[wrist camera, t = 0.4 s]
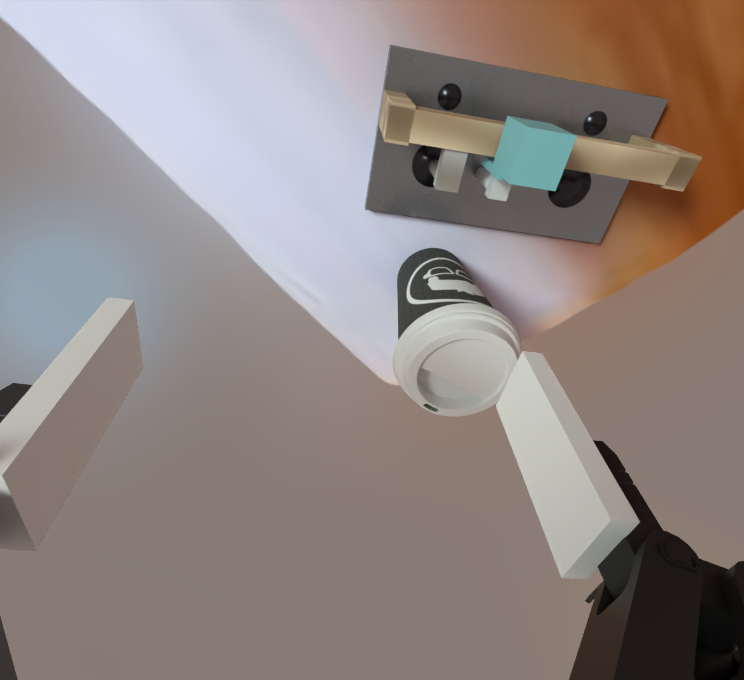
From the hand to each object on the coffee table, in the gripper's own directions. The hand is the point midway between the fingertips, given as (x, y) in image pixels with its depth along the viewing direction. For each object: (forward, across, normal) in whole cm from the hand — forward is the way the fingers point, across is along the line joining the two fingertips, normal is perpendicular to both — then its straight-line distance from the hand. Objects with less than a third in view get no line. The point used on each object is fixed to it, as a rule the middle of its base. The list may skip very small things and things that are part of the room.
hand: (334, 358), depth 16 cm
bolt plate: (+27, +13, +3) cm, 30 cm away
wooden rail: (+26, +13, +3) cm, 29 cm away
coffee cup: (+27, +10, -10) cm, 30 cm away
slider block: (+25, +11, +4) cm, 28 cm away
